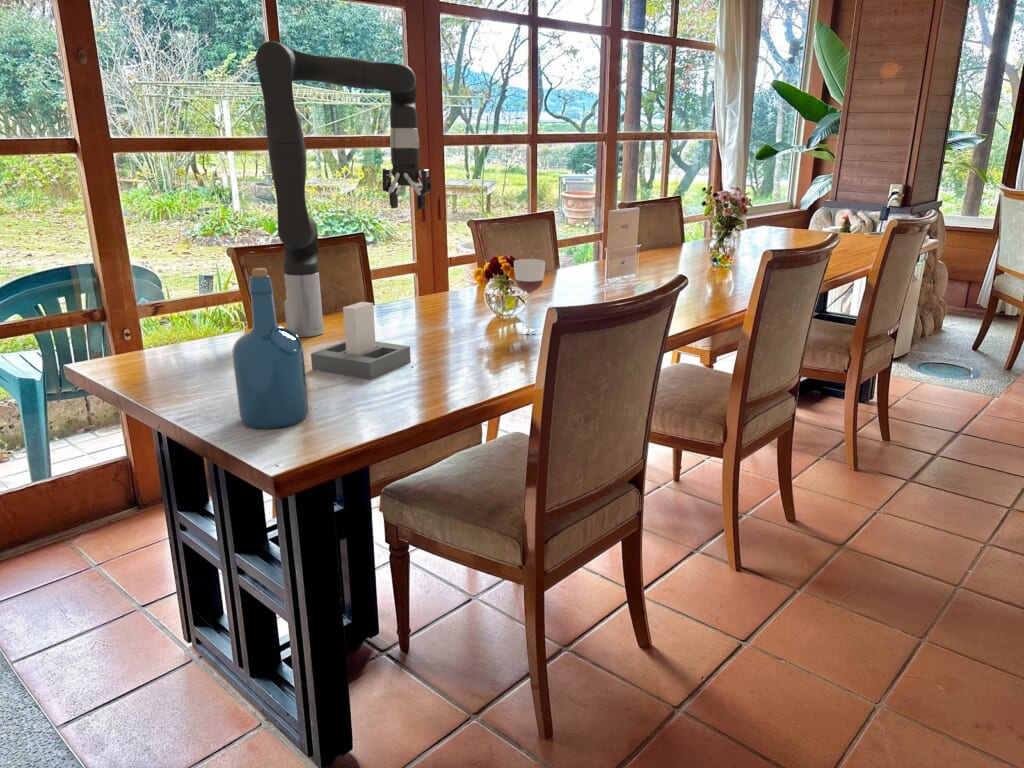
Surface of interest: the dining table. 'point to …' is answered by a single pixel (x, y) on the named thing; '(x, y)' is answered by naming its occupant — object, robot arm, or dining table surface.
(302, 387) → the wine bottle
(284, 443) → the dining table surface
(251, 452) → the dining table surface
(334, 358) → the rack
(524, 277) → the wineglass
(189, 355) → the dining table surface
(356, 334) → the white box
